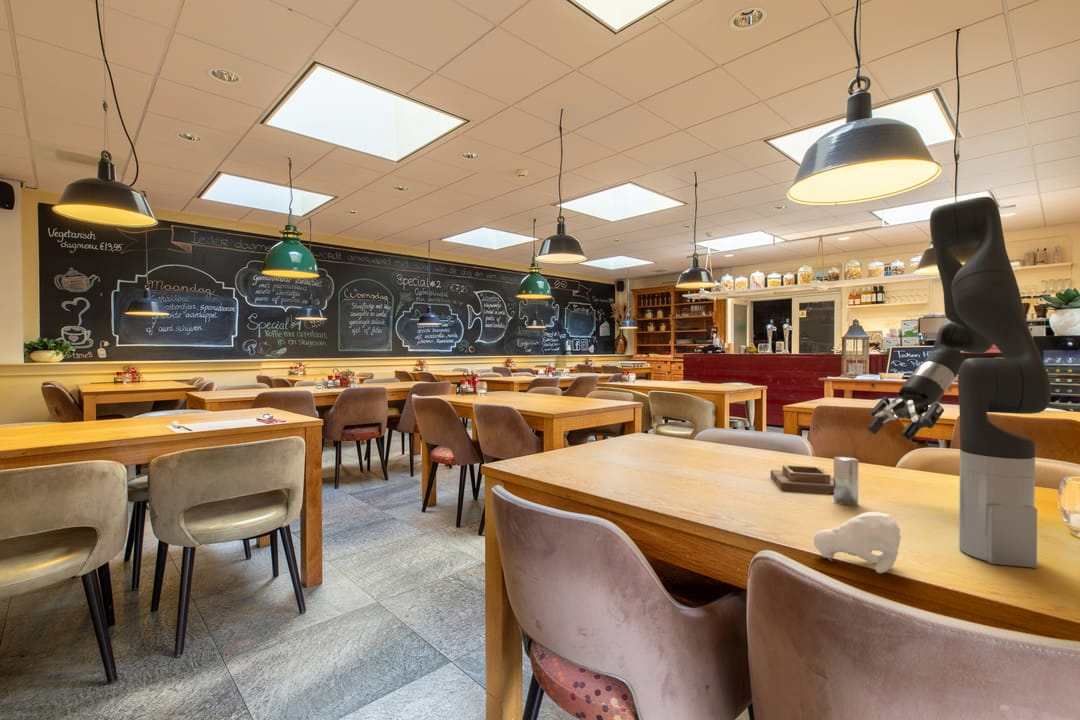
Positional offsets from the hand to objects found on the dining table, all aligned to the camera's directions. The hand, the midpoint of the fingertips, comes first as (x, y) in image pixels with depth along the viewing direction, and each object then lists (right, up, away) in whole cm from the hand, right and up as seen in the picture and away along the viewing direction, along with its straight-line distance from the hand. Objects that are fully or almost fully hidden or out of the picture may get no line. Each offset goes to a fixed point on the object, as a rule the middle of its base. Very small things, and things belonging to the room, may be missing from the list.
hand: (887, 434), depth 114 cm
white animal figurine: (-30, -16, -35) cm, 49 cm away
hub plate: (-12, -15, +12) cm, 23 cm away
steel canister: (-11, -15, -3) cm, 19 cm away
